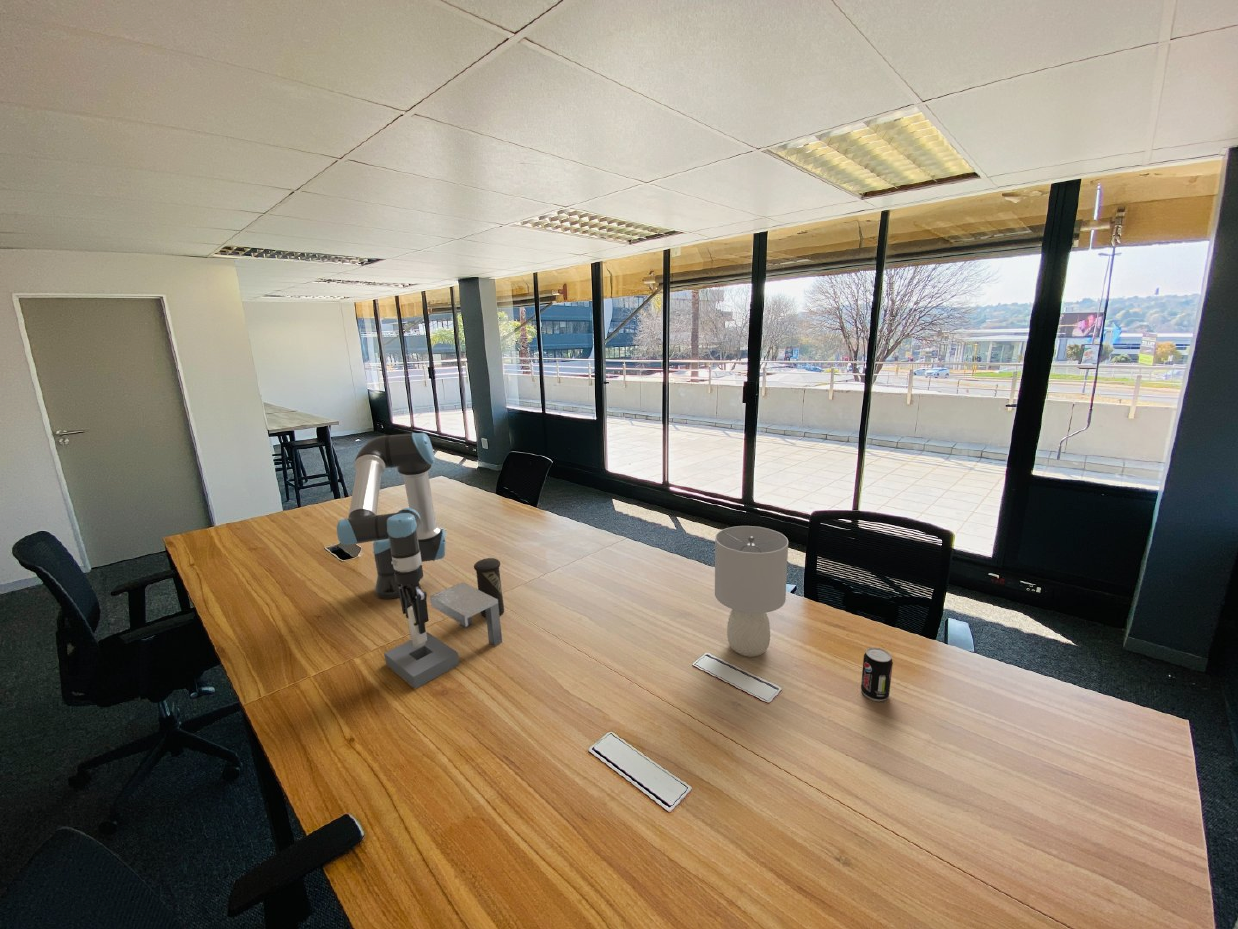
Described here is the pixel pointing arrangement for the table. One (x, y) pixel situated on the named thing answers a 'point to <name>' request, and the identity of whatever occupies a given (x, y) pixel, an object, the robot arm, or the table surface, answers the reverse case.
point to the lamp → (750, 583)
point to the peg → (413, 627)
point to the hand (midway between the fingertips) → (418, 639)
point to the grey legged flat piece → (469, 608)
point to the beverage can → (876, 674)
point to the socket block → (421, 661)
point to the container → (490, 580)
